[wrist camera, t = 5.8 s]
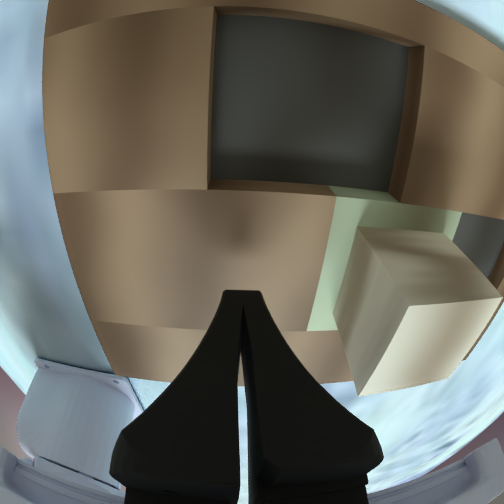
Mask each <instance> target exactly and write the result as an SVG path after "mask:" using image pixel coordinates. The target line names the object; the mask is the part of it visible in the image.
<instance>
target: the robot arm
mask: <svg viewBox="0 0 504 504" xmlns="http://www.w3.org/2000/svg"><path fill="white" fill-rule="evenodd" d="M240 354H241V360H242V369H243V378H244V386H245V394H246V403H247V428H248V493H249V504H488V503H489V502H491V501H492V500H493V499H494V498H496V497H497V496H498V495H500V494H501V493H502V492H504V455H503V452H502V450H501V447H500V445H499V442H498V440H497V438H494V439H493V440H491V441H489V442H488V443H486V444H484V445H482V446H481V447H479V448H477V449H476V450H474V451H472V452H471V453H470V454H468V455H467V456H465V458H463V459H462V460H459V461H457V462H455V463H453V464H451V465H449V466H446V467H444V468H442V469H440V470H437V471H435V472H432V473H430V474H428V475H425V476H422V477H420V478H417V479H415V480H412V481H409V482H406V483H403V484H400V485H397V486H394V487H391V488H388V489H384V490H381V491H378V492H374V493H370V494H367V492H366V487H365V485H367V484H368V478H367V473H368V472H370V471H371V470H372V469H374V468H375V467H377V466H378V465H379V464H380V463H381V462H382V461H383V458H384V456H383V452H382V448H381V445H380V443H379V441H378V438H377V436H376V434H375V432H374V429H372V428H371V427H369V426H368V425H366V424H365V423H364V422H362V421H361V420H359V419H358V418H357V417H356V416H354V415H353V414H352V413H350V412H349V411H348V410H347V409H346V408H344V407H343V406H342V405H341V404H340V403H339V402H337V401H336V400H335V399H334V398H333V397H332V396H331V395H330V394H329V393H328V392H327V391H326V390H325V389H324V388H323V387H322V386H321V385H320V384H319V383H318V382H317V381H316V380H315V378H314V377H313V376H312V375H311V374H310V373H309V372H308V370H307V369H306V368H305V367H304V366H303V364H302V363H301V362H300V360H299V359H298V358H297V356H296V355H295V354H294V352H293V351H292V349H291V348H290V346H289V345H288V343H287V342H286V340H285V339H284V337H283V336H282V334H281V332H280V330H279V329H278V327H277V325H276V323H275V322H274V320H273V318H272V316H271V314H270V312H269V310H268V308H267V305H266V303H265V301H264V298H263V295H262V293H261V292H260V291H259V290H224V291H223V293H222V297H221V300H220V303H219V306H218V309H217V311H216V313H215V316H214V318H213V320H212V322H211V324H210V326H209V328H208V330H207V332H206V334H205V335H204V337H203V339H202V340H201V342H200V344H199V345H198V347H197V349H196V350H195V352H194V353H193V355H192V356H191V358H190V359H189V361H188V362H187V363H186V365H185V366H184V368H183V369H182V370H181V371H180V373H179V374H178V375H177V376H176V378H175V379H174V380H173V381H172V383H171V384H170V385H169V386H168V387H167V388H166V389H165V391H164V392H163V393H162V394H161V395H160V396H159V397H158V398H157V399H156V400H155V401H154V402H153V403H152V404H151V405H150V406H149V407H148V408H147V409H146V410H145V411H144V410H143V409H142V407H141V405H140V403H139V401H138V399H137V397H136V395H135V393H134V391H133V389H132V387H131V385H130V383H129V381H128V379H127V378H126V377H124V376H118V375H114V374H108V373H102V372H97V371H92V370H87V369H82V368H77V367H72V366H68V365H64V364H59V363H55V362H51V361H47V360H44V359H40V358H36V360H35V363H36V365H37V366H38V370H37V372H36V374H35V376H34V378H33V380H32V383H31V385H30V387H29V390H28V392H27V394H26V397H25V399H24V402H23V404H22V407H21V409H20V412H19V414H18V418H17V424H16V433H17V439H18V442H19V444H20V446H21V448H22V449H23V451H24V452H25V453H26V454H27V455H29V456H30V457H32V458H34V459H33V461H32V460H31V459H29V458H27V457H25V459H18V458H17V457H16V456H15V455H13V454H12V453H10V452H9V451H8V450H6V449H4V448H3V447H1V446H0V504H237V502H238V499H239V491H240V455H239V428H238V387H237V384H238V374H239V364H240ZM121 484H122V485H124V486H125V487H126V492H123V491H120V489H121Z"/></svg>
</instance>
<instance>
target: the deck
mask: <svg viewBox="0 0 504 504" xmlns="http://www.w3.org/2000/svg"><path fill="white" fill-rule="evenodd" d="M42 94H43V117H44V130H45V141H46V150H47V158H48V165H49V172H50V178H51V184H52V189H53V195H54V200H55V205H56V209H57V214H58V218H59V223H60V227H61V231H62V235H63V239H64V242H65V246H66V250H67V253H68V257H69V260H70V263H71V267H72V270H73V273H74V276H75V279H76V282H77V285H78V288H79V291H80V294H81V296H82V299H83V302H84V305H85V307H86V310H87V312H88V315H89V318H90V320H91V323H92V325H93V327H94V330H95V332H96V335H97V337H98V339H99V341H100V344H101V346H102V348H103V350H104V353H105V355H106V357H107V359H108V361H109V363H110V365H111V367H112V369H113V371H114V373H115V375H118V376H124V377H131V378H138V379H146V380H154V381H163V382H172V381H173V380H174V379H175V378H176V376H177V375H178V374H179V373H180V371H181V370H182V369H183V368H184V366H185V365H186V363H187V362H188V361H189V359H190V358H191V356H192V355H193V353H194V352H195V350H196V349H197V347H198V345H199V344H200V342H201V340H202V339H203V337H204V335H205V334H206V332H207V330H208V328H209V326H210V324H211V322H212V320H213V318H214V316H215V313H216V311H217V309H218V306H219V303H220V300H221V297H222V293H223V291H224V290H259V291H260V292H261V293H262V295H263V298H264V301H265V303H266V305H267V308H268V310H269V312H270V314H271V316H272V318H273V320H274V322H275V323H276V325H277V327H278V329H279V330H280V332H281V334H282V336H283V337H284V339H285V340H286V342H287V343H288V345H289V346H290V348H291V349H292V351H293V352H294V354H295V355H296V356H297V358H298V359H299V360H300V362H301V363H302V364H303V366H304V367H305V368H306V369H307V370H308V372H309V373H310V374H311V375H312V376H313V377H314V378H315V380H316V381H317V382H318V383H319V384H324V383H336V382H346V381H354V380H353V377H352V373H351V370H350V367H349V363H348V360H347V357H346V354H345V351H344V347H343V344H342V341H341V338H340V335H339V332H338V329H337V326H336V323H335V320H334V317H333V311H334V308H335V304H336V301H337V298H338V294H339V291H340V288H341V284H342V281H343V277H344V274H345V270H346V266H347V263H348V259H349V255H350V251H351V248H352V244H353V240H354V236H355V232H356V227H357V226H362V227H376V228H389V229H402V230H414V231H426V232H437V233H444V234H445V235H446V236H447V237H448V238H449V239H450V240H451V241H452V242H453V243H454V244H455V245H456V246H457V247H458V248H459V249H460V250H461V251H462V252H463V253H464V254H465V255H466V256H467V257H468V258H469V259H470V260H471V261H472V262H473V263H474V265H475V266H476V267H477V268H478V269H479V270H480V271H481V272H482V273H483V274H484V276H485V277H486V278H487V279H488V280H489V281H490V282H491V284H492V285H493V286H494V287H495V288H496V289H497V291H498V292H499V293H500V294H501V295H502V297H503V298H502V300H501V302H500V303H499V305H498V307H497V309H496V310H495V312H494V314H493V315H492V317H491V319H490V320H489V322H488V323H487V325H486V327H485V328H484V330H483V331H482V333H481V334H480V336H479V337H478V339H477V340H476V342H475V343H474V344H473V346H472V347H471V349H470V350H469V352H468V353H467V354H466V356H465V357H464V358H463V360H466V358H467V357H468V356H469V354H470V353H471V351H472V350H473V349H474V347H475V346H476V344H477V343H478V342H479V340H480V339H481V337H482V336H483V334H484V333H485V331H486V330H487V328H488V327H489V325H490V323H491V322H492V320H493V319H494V317H495V315H496V314H497V312H498V310H499V309H500V307H501V305H502V304H503V302H504V51H503V50H501V49H500V48H499V47H497V46H496V45H494V44H493V43H491V42H490V41H488V40H487V39H485V38H484V37H482V36H481V35H479V34H478V33H476V32H474V31H473V30H471V29H469V28H468V27H466V26H464V25H462V24H461V23H459V22H457V21H455V20H453V19H452V18H450V17H448V16H446V15H444V14H442V13H440V12H438V11H436V10H434V9H432V8H430V7H428V6H425V5H423V4H421V3H419V2H416V1H414V0H49V3H48V9H47V17H46V25H45V34H44V47H43V69H42ZM237 386H244V378H243V369H242V360H241V354H240V364H239V374H238V384H237Z"/></svg>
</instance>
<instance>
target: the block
mask: <svg viewBox="0 0 504 504" xmlns="http://www.w3.org/2000/svg"><path fill="white" fill-rule="evenodd" d="M502 298H503V297H502V295H501V294H500V293H499V292H498V291H497V289H496V288H495V287H494V286H493V285H492V284H491V282H490V281H489V280H488V279H487V278H486V277H485V276H484V274H483V273H482V272H481V271H480V270H479V269H478V268H477V267H476V266H475V265H474V263H473V262H472V261H471V260H470V259H469V258H468V257H467V256H466V255H465V254H464V253H463V252H462V251H461V250H460V249H459V248H458V247H457V246H456V245H455V244H454V243H453V242H452V241H451V240H450V239H449V238H448V237H447V236H446V235H445V234H444V233H437V232H426V231H414V230H402V229H389V228H376V227H362V226H357V227H356V232H355V236H354V240H353V244H352V248H351V251H350V255H349V259H348V263H347V266H346V270H345V274H344V277H343V281H342V284H341V288H340V291H339V294H338V298H337V301H336V304H335V308H334V311H333V317H334V320H335V323H336V326H337V329H338V332H339V335H340V338H341V341H342V344H343V347H344V351H345V354H346V357H347V360H348V363H349V367H350V370H351V373H352V377H353V380H354V383H355V387H356V390H357V394H358V396H365V395H371V394H378V393H383V392H389V391H394V390H400V389H405V388H409V387H414V386H419V385H423V384H427V383H431V382H435V381H439V380H443V379H447V378H449V376H450V375H451V374H452V373H453V371H454V370H455V369H456V368H457V366H458V365H459V364H460V362H461V361H462V360H463V358H464V357H465V356H466V354H467V353H468V352H469V350H470V349H471V347H472V346H473V344H474V343H475V342H476V340H477V339H478V337H479V336H480V334H481V333H482V331H483V330H484V328H485V327H486V325H487V323H488V322H489V320H490V319H491V317H492V315H493V314H494V312H495V310H496V309H497V307H498V305H499V303H500V302H501V300H502Z"/></svg>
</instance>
